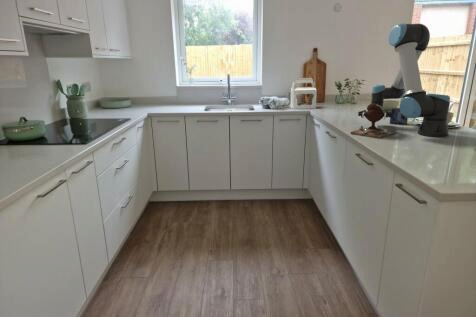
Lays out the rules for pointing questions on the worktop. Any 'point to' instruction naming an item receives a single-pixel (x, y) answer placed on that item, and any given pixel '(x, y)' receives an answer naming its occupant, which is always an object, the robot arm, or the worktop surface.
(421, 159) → the worktop surface
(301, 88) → the white lantern
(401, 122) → the small box
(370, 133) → the stub board
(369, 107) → the ice cream bowl
